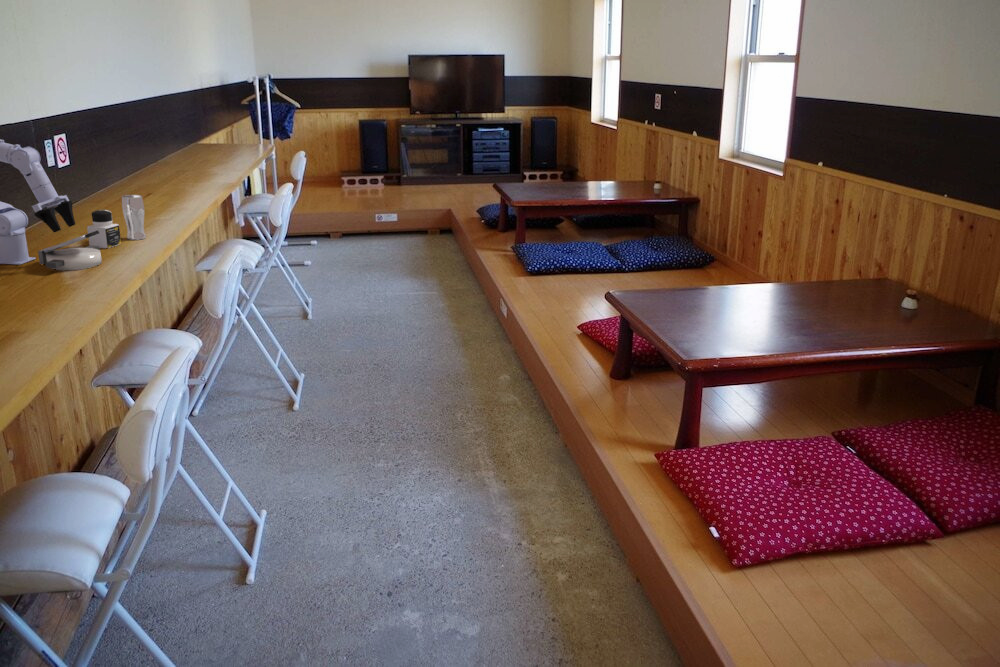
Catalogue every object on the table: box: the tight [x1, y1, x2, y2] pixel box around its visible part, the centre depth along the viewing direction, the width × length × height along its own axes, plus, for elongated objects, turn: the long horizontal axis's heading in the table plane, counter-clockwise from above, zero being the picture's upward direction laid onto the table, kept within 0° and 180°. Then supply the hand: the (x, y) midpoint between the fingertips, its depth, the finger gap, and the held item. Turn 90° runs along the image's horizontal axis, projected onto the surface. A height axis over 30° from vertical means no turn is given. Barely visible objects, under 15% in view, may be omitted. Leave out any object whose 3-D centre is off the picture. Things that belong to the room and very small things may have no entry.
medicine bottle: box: [86, 209, 122, 249], centre depth 267 cm, size 7×7×12 cm
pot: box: [37, 245, 103, 271], centre depth 244 cm, size 17×23×4 cm
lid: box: [42, 230, 99, 253], centre depth 243 cm, size 17×15×1 cm
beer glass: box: [121, 194, 147, 241], centre depth 278 cm, size 7×7×15 cm
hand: (65, 228), depth 241 cm, fingers open, 7 cm apart
